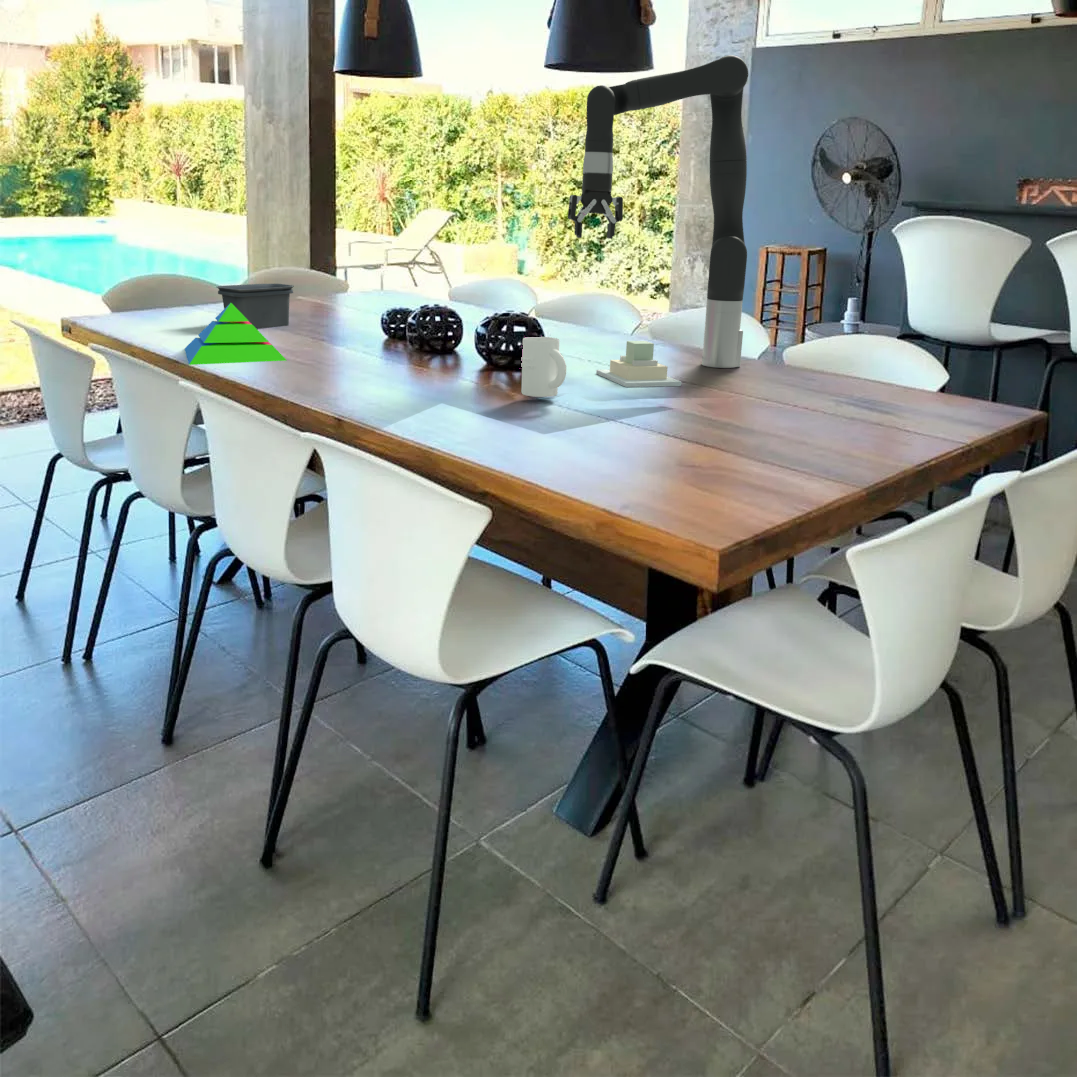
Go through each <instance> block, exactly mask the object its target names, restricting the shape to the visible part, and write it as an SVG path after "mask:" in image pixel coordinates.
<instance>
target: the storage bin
mask: <svg viewBox="0 0 1077 1077" xmlns="http://www.w3.org/2000/svg"><path fill="white" fill-rule="evenodd" d="M216 288H217V289H218V291H217V294H218V295H221V297H222V302H223V303H222V304H223V305H222V306H223V310H224V309H225V308H226V307H227V306H228V305H229V304H230V303H232V304H233V305H234V306H235V307H236V308H237V309H238V310H239V311H240V312H241V313H242V314H243V315H244V316H245V317H246V318H247V320H248V321H249V322H250V323H251V324H252V325H253V326H254V327H255V328H256V329H257V330H259V329H260V330H261V329H268V328H278V327H287V326H288V327H289V326H290V294H294V290H293V288H294V285H293V284H285V283H251V284H248V283H247V284H230V285H229V284H228V285H217V286H216Z"/></svg>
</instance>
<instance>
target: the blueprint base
mask: <svg viewBox="0 0 1077 1077" xmlns="http://www.w3.org/2000/svg"><path fill="white" fill-rule="evenodd" d="M658 361H659V360H657V359H653V360H632V364H630V363H627V362H626V355H620V359H610V362H609V369H596V370H595V371H596V373H595V374H596V375H598V376H600V377H603V378H605V379H606V380H609V381H611V382H614V383H615V384H619V385H621V386H623V387H625V388H640V387H641V388H642V387H643V388H645V387H647V388H648V387H652V388H653V387H681V386H682V381H680V380H678V379H675V378H673V377H671V376H668V368H669V367H668V366H667V365H664V364H662V363H659V362H658Z"/></svg>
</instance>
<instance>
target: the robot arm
mask: <svg viewBox="0 0 1077 1077" xmlns="http://www.w3.org/2000/svg"><path fill="white" fill-rule="evenodd" d="M748 80H749V69H748V66H747V63H745V61H744V60H743V59H742V58H741V57H739V56H737V55H733V54H729V55H725V56H722V57H720V58H718V59H716V60H713V61H711V62H709V63H706V64H702V65H699V66H697V67H693V68H692V67H691V68H689V69H685V70H681V71H676V72H670V73H663V74H659V75H652V76H647V77H642V78H637V79H632V80H630V81H627V82H625V83H623V84H618V85H613V86H607V85H597V86H594V87H593V88H591V90H590V91H589V92H588V95H587V98H586V135H585V140H584V141H585V142H584V143H585V145H584V157H583V161H582V162H583V163H582V164H583V165H582V166H583V167H582V183H581V189H582V190H581V195H576V194H570V196H569V202H568V211H567V212H568V213H567V219H569V220H571V221H572V222H574V236H575V237H576V239H581V238H582V236H583V220H584V219H585V217H587V215H588V214H600V215H601V214H602V215H603V216H604V217H605V218H606V220H607V222H608V223H607V228H606V229H607V230H606V237H607V239H608V240H610V239H613V237H615V235H616V224H617V223H618V222H621V221H623V220H624V215H623V214H624V199H623V197H622V196H616V197H612V185H613V172H614V168H613V167H614V159H613V152H614V151H613V149H614V131H613V130H614V129H613V128H614V127H613V126H614V118H615V117H614V116H617V115H620V114H623V113H624V114H625V113H626V112H633V111H640V110H644V109H646V110H647V109H650V108H655V107H659V106H663V105H664V106H665V105H667V104H670V103H673V102H676V101H680V100H683V99H688V98H691V97H696V96H703V95H704V96H705V95H709V96H710V97H709V99H710V107H711V108H710V109H711V130H710V131H711V132H710V143H709V185H710V186H709V188H710V196H711V202H712V203H711V204H712V209H713V210H712V211H713V229H712V230H713V232H712V242H711V243H712V244H711V248H710V255H709V256H710V257H709V266H708V267H709V269H708V280H707V281H708V282H707V291H706V292H707V294H706V295H707V296H706V305H705V306H706V307H705V308H706V309H705V321H704V330H703V331H704V333H703V347H702V357H701V365H702V366H704V367H707V368H721V369H730V368H731V369H732V368H740V367H741V362H742V361H741V360H742V359H741V358H742V350H743V349H742V348H743V338H744V337H743V336H744V331H743V329H741V326H742V325H741V323H742V314H743V313H742V312H743V303H744V302H743V300H744V292H745V283H746V273H747V272H746V271H747V262H748V259H747V258H748V251H747V247H746V243H745V237H744V236H745V234H744V223H743V214H744V212H743V211H744V205H745V198H746V197H745V196H746V189H747V174H748V172H747V171H748V170H747V169H748V168H747V166H748V165H747V163H748V162H747V159H748V158H747V147H746V146H747V145H746V139H745V133H744V127H743V122H742V109H743V94H744V88H745V87H746V84H747V82H748ZM580 202H581V205H582V207H581V208H580V210H579V211H578V213H577V214H576V212H577V205H579V203H580ZM611 204H613V206H614V214H613V210H611V208H610V207H609V206H611Z"/></svg>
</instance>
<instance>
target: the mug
mask: <svg viewBox="0 0 1077 1077" xmlns="http://www.w3.org/2000/svg"><path fill="white" fill-rule="evenodd" d="M522 345H523V349H522V357H521V361H522V363H521V367H522V368H521V394H522V395H523V396H525V397H526V396H527V397H533V398H535V397H536V398H547V397H548V398H549V397H556V396H557V395H558V393H559V392H558V390H559V387H561V386H562V385H563V383H564V381H565V379H566V378H567V377H566V376H567V364H566V360H565V358H564V356H563V355H562V353H561V352H560V339H559V338H557V337H549V336H541V337H525V336H524V337H523V338H522Z"/></svg>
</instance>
